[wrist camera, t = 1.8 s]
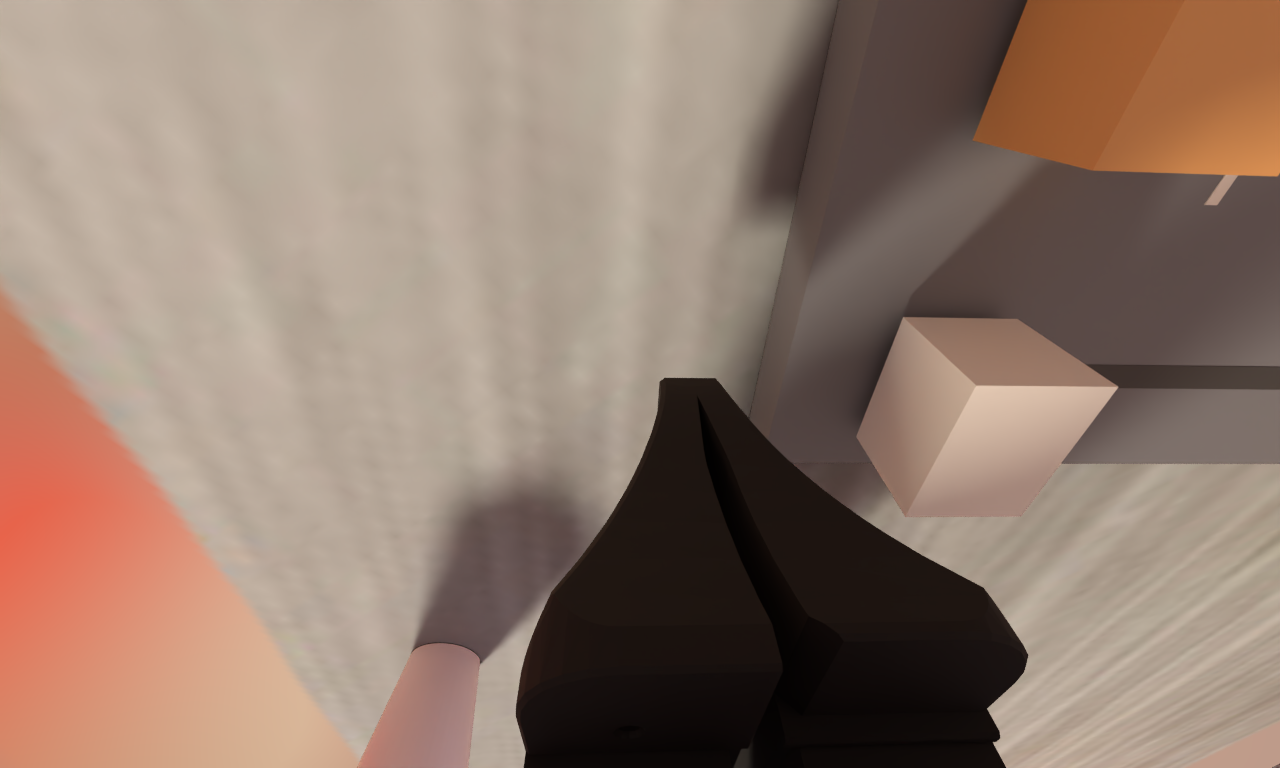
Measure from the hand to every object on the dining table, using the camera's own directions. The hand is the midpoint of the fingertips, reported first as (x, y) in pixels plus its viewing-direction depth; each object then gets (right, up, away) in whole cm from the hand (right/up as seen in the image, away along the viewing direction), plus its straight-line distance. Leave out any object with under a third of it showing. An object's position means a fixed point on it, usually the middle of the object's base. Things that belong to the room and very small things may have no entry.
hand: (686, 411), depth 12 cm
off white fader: (+7, +1, +2) cm, 7 cm away
